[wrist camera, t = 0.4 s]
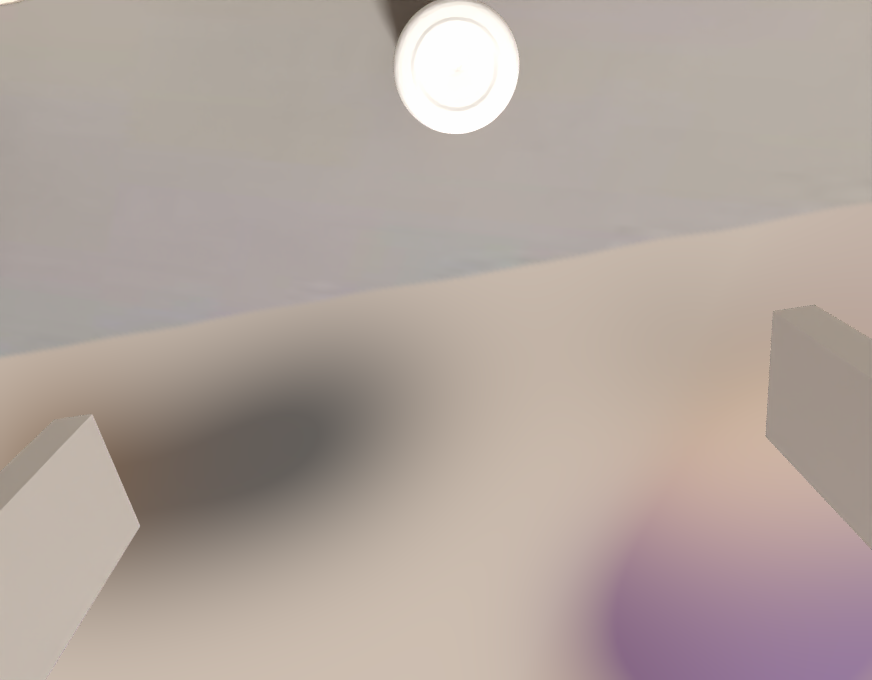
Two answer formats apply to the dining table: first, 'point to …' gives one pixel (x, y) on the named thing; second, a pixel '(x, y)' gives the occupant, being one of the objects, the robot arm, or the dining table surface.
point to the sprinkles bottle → (456, 65)
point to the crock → (9, 1)
